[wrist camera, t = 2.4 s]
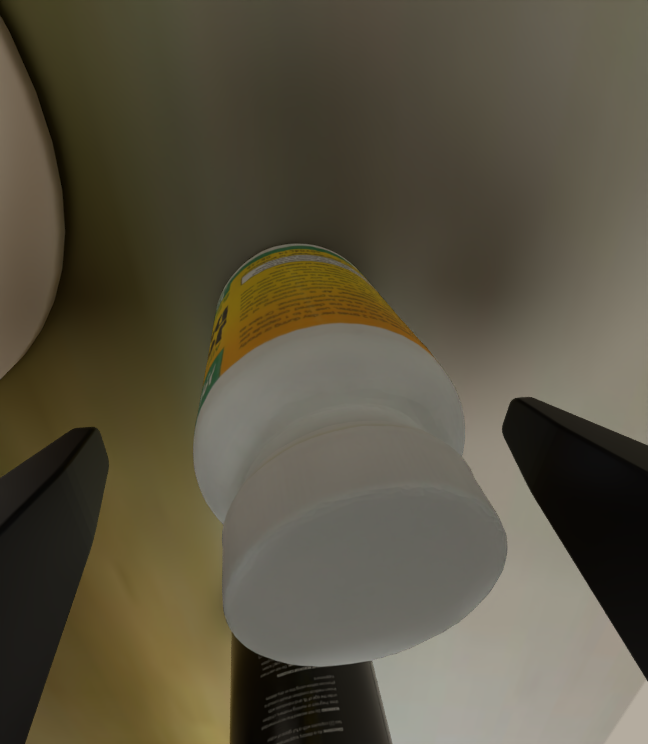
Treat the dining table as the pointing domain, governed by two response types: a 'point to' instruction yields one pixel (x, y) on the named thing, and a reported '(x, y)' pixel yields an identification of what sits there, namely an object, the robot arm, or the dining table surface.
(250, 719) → the supplement bottle
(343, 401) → the supplement bottle
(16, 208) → the turntable
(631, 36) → the dining table surface
